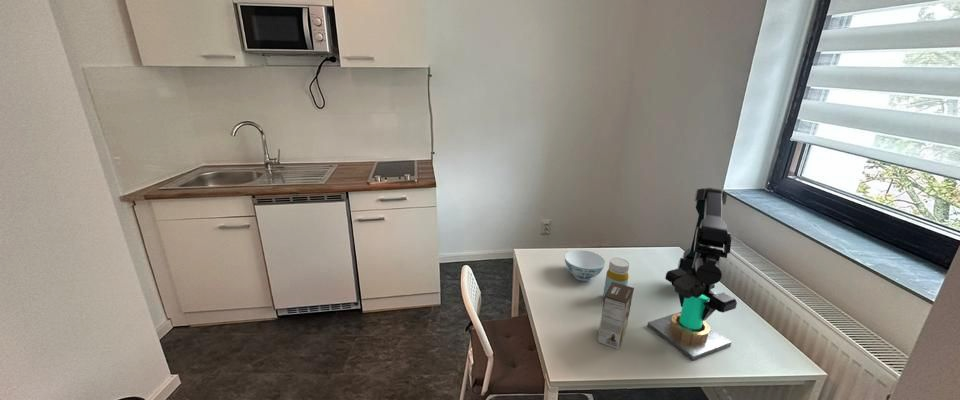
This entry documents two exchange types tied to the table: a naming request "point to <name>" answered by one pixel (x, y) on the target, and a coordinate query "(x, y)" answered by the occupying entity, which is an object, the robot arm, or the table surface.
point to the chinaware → (584, 264)
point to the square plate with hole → (689, 337)
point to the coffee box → (615, 315)
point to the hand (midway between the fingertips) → (692, 313)
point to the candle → (693, 312)
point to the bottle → (616, 273)
